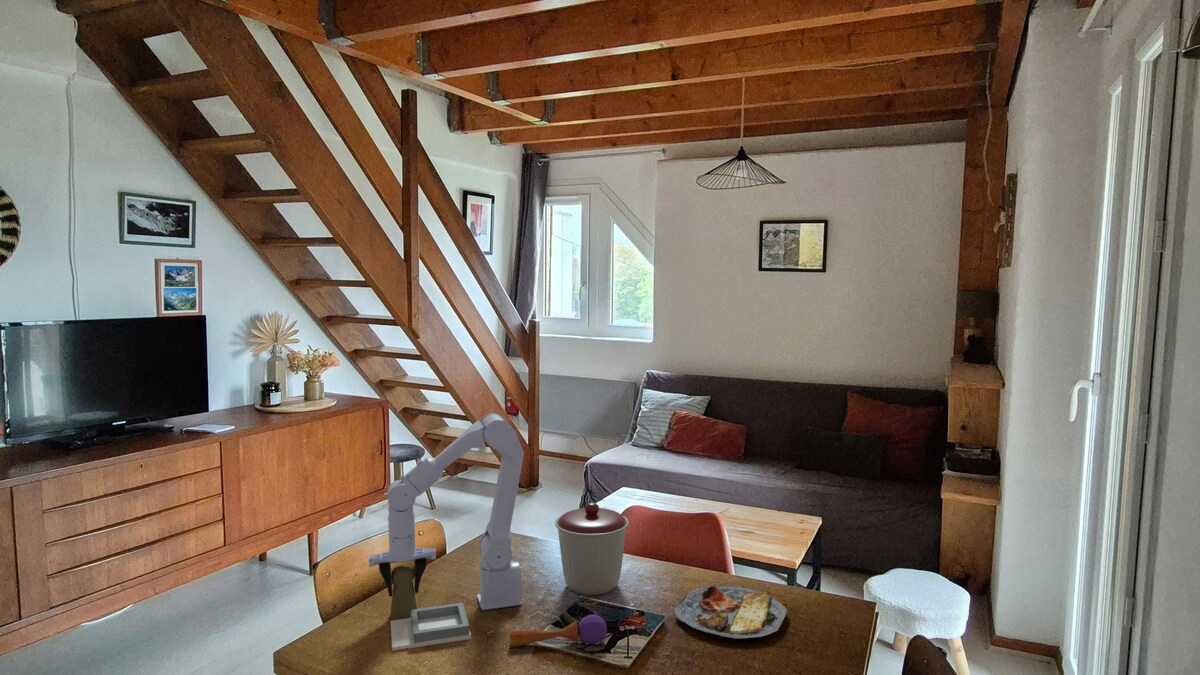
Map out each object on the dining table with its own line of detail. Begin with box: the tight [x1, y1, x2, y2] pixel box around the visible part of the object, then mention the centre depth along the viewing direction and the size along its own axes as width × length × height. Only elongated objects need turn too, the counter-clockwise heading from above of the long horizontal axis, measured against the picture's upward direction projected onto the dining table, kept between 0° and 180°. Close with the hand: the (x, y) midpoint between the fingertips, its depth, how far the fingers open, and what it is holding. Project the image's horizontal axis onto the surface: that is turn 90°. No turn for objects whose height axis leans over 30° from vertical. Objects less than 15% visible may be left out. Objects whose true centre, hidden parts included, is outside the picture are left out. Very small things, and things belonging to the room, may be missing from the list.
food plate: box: [674, 584, 788, 640], centre depth 161 cm, size 25×23×4 cm
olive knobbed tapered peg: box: [389, 564, 418, 620], centre depth 162 cm, size 6×6×11 cm
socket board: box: [390, 602, 472, 652], centre depth 155 cm, size 16×12×3 cm
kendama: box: [509, 613, 608, 649], centre depth 149 cm, size 6×6×20 cm
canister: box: [554, 502, 630, 596], centre depth 177 cm, size 18×18×21 cm
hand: (403, 592), depth 162 cm, fingers closed on olive knobbed tapered peg, 5 cm apart
